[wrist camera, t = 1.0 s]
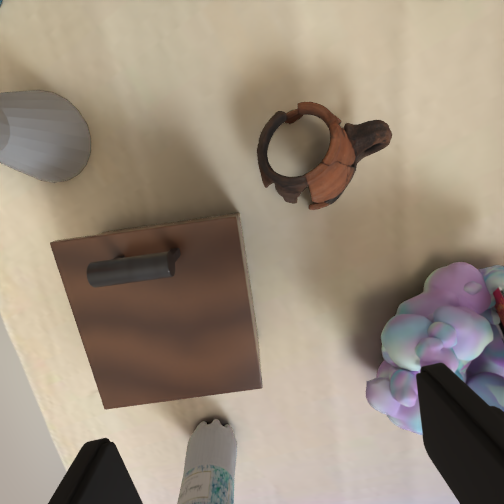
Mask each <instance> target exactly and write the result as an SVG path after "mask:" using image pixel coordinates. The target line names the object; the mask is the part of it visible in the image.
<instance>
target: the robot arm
mask: <svg viewBox="0 0 504 504" xmlns="http://www.w3.org/2000/svg"><path fill="white" fill-rule="evenodd" d="M416 382H417V390H418V399H419V407H420V416H421V424H422V433H423V442H424V446H425V449H426V451H427V453H428V455H429V457H430V459H431V460H432V462H433V463H434V465H435V466H436V468H437V469H438V471H439V472H440V474H441V475H442V477H443V478H444V480H445V481H446V483H447V484H448V486H449V487H450V489H451V490H452V492H453V494H454V495H455V497H456V498H457V500H458V501H459V503H460V504H504V411H502V410H501V409H500V408H498V407H495V406H489V405H488V404H487V403H486V402H485V401H484V400H483V399H482V398H481V397H480V396H478V395H477V394H476V393H475V392H474V391H473V390H472V389H471V388H470V387H469V386H468V385H467V384H466V383H465V382H463V381H462V380H461V379H460V378H459V377H458V376H457V375H456V374H455V373H454V372H453V371H452V370H451V369H450V368H449V367H447V366H446V365H445V364H444V363H441V362H440V363H436V364H431V365H427V366H423V367H421V369H420V373H417V374H416ZM48 504H143V503H142V501H141V499H140V497H139V494H138V492H137V490H136V488H135V486H134V484H133V482H132V480H131V477H130V475H129V473H128V471H127V469H126V467H125V465H124V462H123V460H122V458H121V456H120V454H119V452H118V450H117V447H116V445H115V444H114V443H113V442H110V441H109V439H107V438H103V439H98V440H94V441H90V442H87V443H85V444H84V445H83V447H82V448H81V450H80V451H79V453H78V455H77V456H76V458H75V460H74V461H73V463H72V465H71V466H70V468H69V470H68V471H67V473H66V475H65V476H64V478H63V480H62V481H61V483H60V485H59V486H58V488H57V489H56V491H55V493H54V495H53V496H52V498H51V499H50V501H49V503H48Z"/></svg>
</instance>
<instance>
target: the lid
mask: <svg viewBox="0 0 504 504" xmlns="http://www.w3.org/2000/svg"><path fill="white" fill-rule="evenodd" d="M50 245H51V248H52V251H53V254H54V257H55V260H56V263H57V266H58V269H59V272H60V275H61V278H62V281H63V284H64V287H65V290H66V293H67V296H68V299H69V302H70V306H71V309H72V312H73V315H74V318H75V321H76V324H77V327H78V330H79V333H80V336H81V339H82V342H83V345H84V348H85V351H86V354H87V357H88V360H89V363H90V366H91V369H92V372H93V375H94V378H95V381H96V384H97V387H98V390H99V393H100V396H101V399H102V402H103V405H104V409H112V408H120V407H127V406H134V405H142V404H149V403H157V402H164V401H171V400H179V399H186V398H194V397H201V396H208V395H216V394H223V393H231V392H238V391H246V390H253V389H260V388H262V379H261V372H260V366H259V359H258V353H257V346H256V340H255V333H254V326H253V320H252V313H251V307H250V300H249V294H248V287H247V280H246V274H245V267H244V261H243V254H242V247H241V241H240V234H239V228H238V221H237V216H236V215H234V216H227V217H219V218H212V219H205V220H198V221H191V222H184V223H177V224H170V225H163V226H156V227H149V228H142V229H135V230H128V231H120V232H113V233H106V234H99V235H92V236H85V237H78V238H71V239H64V240H57V241H53V242H51V243H50Z"/></svg>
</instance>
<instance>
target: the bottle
mask: <svg viewBox="0 0 504 504" xmlns="http://www.w3.org/2000/svg"><path fill="white" fill-rule="evenodd" d="M236 456H237V443H236V439H235V436H234V433H233V430H232V427H231V426H230V425H229V424H225V425H224V426H222V425H221V423H220V421H219V420H218V419H214V420H213V422H212V423H211V424H208V425H207V423H206V422H205V421H203V422H201V423H200V424H199V425H198V426H197V428H196V430H195V431H194V432H193V433H192V435H191V437H190V439H189V442H188V446H187V452H186V458H185V466H184V474H183V479H182V484H181V489H180V494H179V498H178V503H177V504H233V503H234V476H235V467H236Z"/></svg>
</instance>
